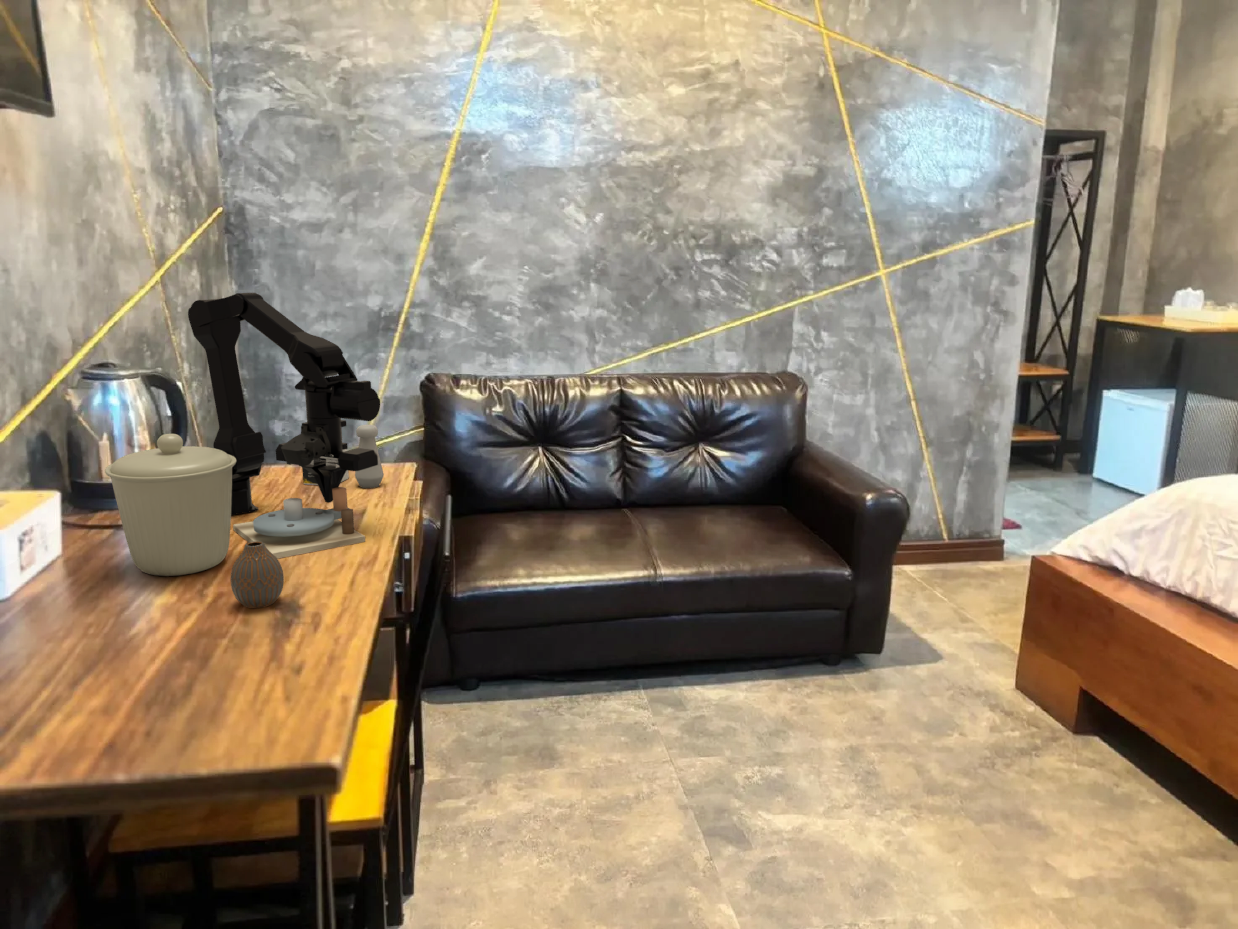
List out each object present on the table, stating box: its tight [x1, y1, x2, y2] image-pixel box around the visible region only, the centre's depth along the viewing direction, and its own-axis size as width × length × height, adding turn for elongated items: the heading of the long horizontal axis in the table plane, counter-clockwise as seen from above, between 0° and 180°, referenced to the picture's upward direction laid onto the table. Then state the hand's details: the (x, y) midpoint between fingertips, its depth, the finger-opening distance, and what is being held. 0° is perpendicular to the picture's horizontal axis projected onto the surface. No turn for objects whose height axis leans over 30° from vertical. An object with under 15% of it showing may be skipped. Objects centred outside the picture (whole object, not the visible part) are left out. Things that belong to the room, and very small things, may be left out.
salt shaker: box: [354, 424, 385, 489], centre depth 190 cm, size 6×6×13 cm
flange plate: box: [253, 486, 351, 537], centre depth 156 cm, size 16×13×5 cm
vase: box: [230, 541, 285, 609], centre depth 127 cm, size 7×7×9 cm
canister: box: [104, 433, 236, 577], centre depth 140 cm, size 18×18×21 cm
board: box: [232, 508, 366, 560], centre depth 157 cm, size 20×16×5 cm
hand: (329, 502), depth 162 cm, fingers closed
